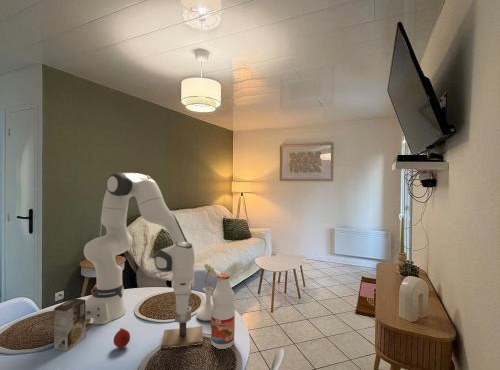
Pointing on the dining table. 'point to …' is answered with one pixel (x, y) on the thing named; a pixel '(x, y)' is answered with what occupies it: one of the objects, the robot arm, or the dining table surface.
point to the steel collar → (187, 316)
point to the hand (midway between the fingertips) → (183, 314)
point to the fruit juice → (223, 313)
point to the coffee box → (69, 324)
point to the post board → (182, 336)
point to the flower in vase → (207, 298)
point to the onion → (121, 338)
